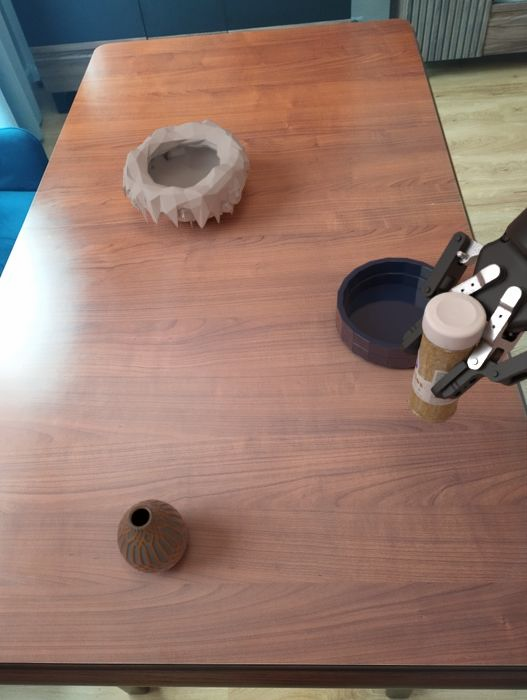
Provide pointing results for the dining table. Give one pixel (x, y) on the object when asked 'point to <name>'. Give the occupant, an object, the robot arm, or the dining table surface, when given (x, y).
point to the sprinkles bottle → (444, 351)
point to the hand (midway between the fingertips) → (422, 372)
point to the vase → (152, 536)
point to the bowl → (186, 173)
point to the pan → (382, 308)
